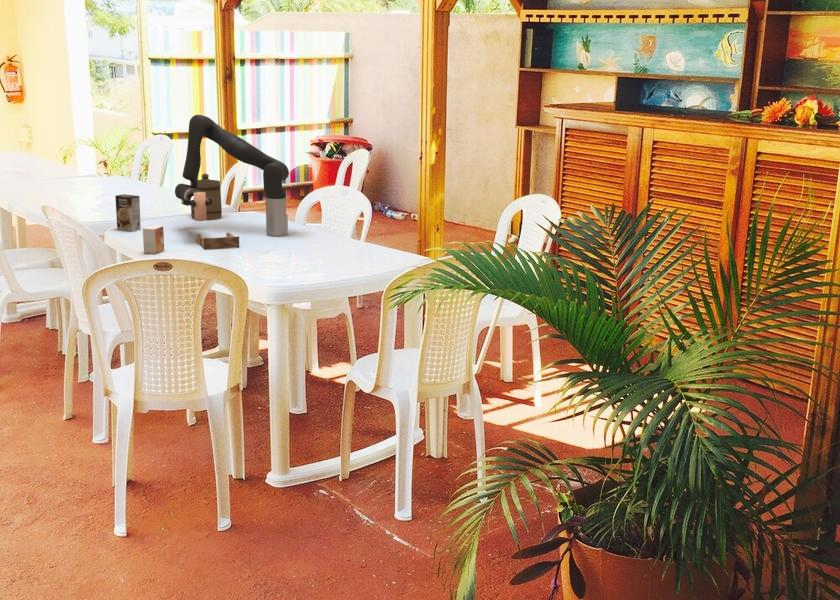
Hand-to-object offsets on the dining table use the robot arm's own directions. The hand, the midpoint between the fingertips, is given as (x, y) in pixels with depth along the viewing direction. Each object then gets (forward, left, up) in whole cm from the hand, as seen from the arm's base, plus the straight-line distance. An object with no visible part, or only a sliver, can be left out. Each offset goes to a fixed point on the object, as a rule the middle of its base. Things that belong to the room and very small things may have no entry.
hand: (201, 203), depth 410 cm
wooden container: (-14, -61, -18) cm, 65 cm away
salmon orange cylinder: (0, -3, -8) cm, 8 cm away
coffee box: (+26, -40, -18) cm, 51 cm away
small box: (+22, +10, -18) cm, 30 cm away
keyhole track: (-6, +3, -18) cm, 19 cm away
